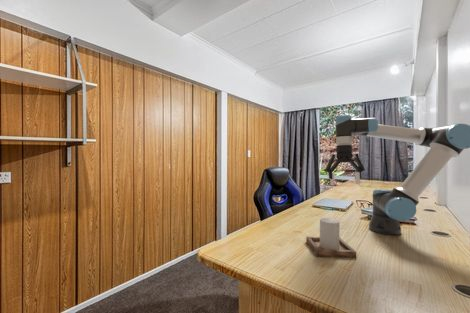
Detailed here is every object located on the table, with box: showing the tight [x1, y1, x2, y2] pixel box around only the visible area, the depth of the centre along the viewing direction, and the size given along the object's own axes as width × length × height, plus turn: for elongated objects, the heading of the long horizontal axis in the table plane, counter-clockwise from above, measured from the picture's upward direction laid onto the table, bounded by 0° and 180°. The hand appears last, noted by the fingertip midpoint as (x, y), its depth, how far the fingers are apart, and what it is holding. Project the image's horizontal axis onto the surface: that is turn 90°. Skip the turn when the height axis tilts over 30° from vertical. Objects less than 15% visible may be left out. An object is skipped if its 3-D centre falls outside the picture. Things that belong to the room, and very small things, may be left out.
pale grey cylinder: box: [319, 217, 341, 250], centre depth 100 cm, size 8×8×12 cm
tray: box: [305, 236, 357, 259], centre depth 100 cm, size 16×16×2 cm
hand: (345, 184), depth 118 cm, fingers open, 13 cm apart
